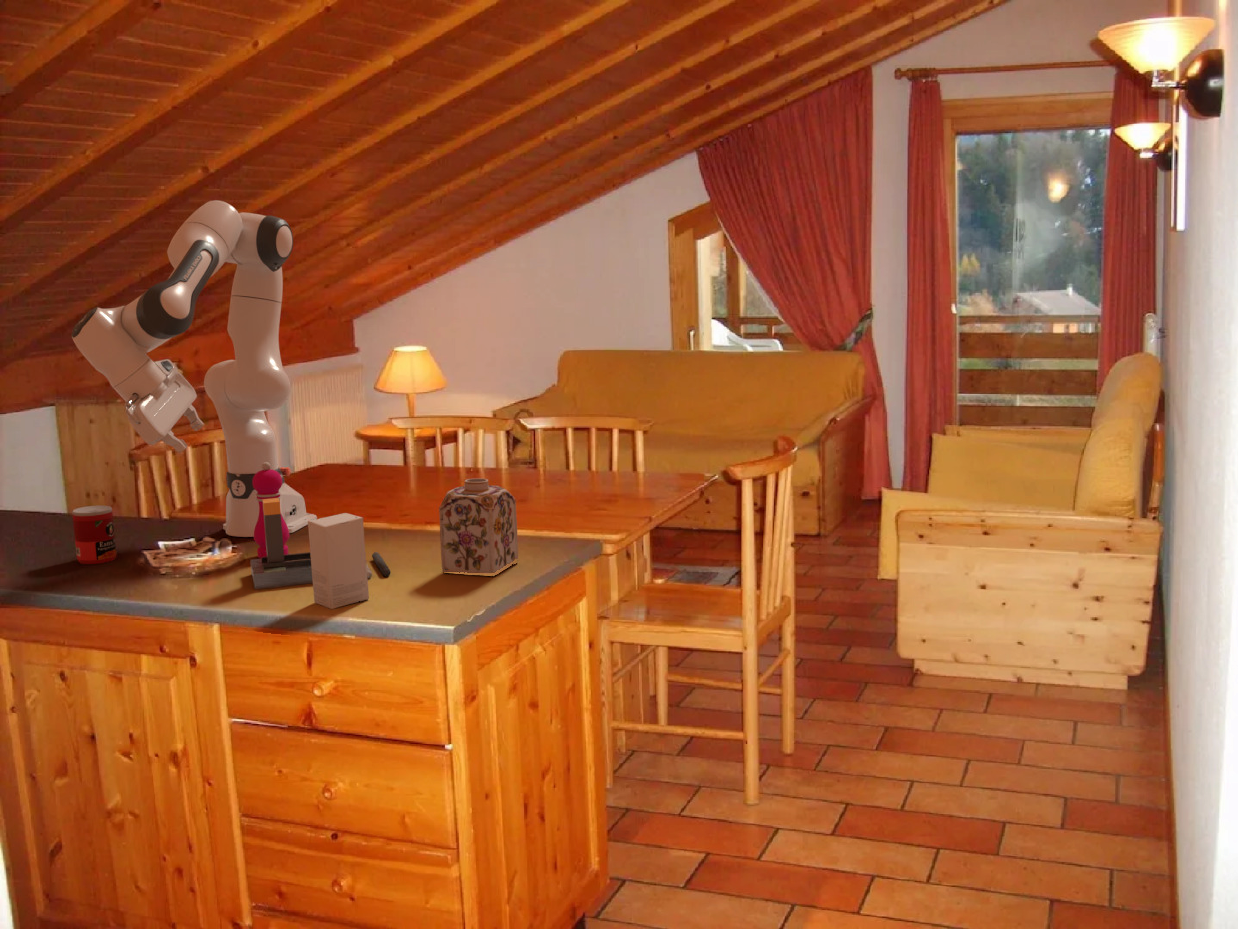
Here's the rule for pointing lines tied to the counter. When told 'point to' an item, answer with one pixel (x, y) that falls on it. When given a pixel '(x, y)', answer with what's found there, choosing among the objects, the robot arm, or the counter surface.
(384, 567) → the dark grey capsule
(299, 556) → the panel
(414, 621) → the counter surface
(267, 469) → the pepper mill
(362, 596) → the skincare box
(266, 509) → the lever
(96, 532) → the canned food
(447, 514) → the decorative jar
